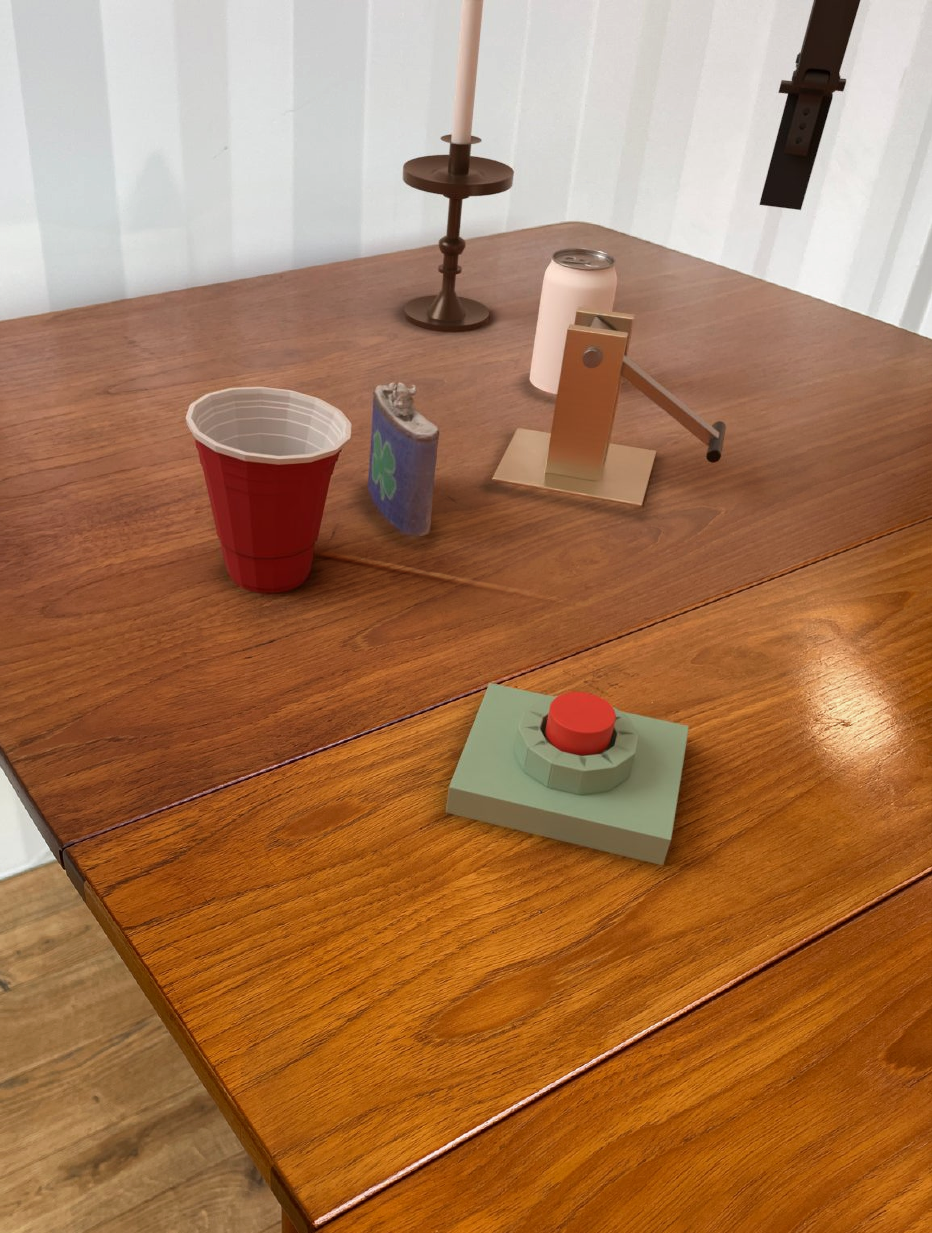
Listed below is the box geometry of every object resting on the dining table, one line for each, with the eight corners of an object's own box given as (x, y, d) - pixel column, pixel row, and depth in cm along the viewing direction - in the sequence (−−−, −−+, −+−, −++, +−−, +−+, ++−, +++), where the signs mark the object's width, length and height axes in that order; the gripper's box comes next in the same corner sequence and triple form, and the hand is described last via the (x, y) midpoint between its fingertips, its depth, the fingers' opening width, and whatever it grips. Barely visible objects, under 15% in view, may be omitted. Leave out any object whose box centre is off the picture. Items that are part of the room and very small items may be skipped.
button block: (680, 753, 67) (696, 701, 64) (662, 869, 60) (679, 815, 57) (485, 710, 69) (492, 658, 67) (445, 815, 62) (451, 762, 60)
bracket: (653, 463, 95) (688, 310, 87) (638, 518, 88) (675, 357, 80) (515, 440, 98) (536, 289, 89) (490, 491, 91) (510, 332, 82)
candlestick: (444, 293, 125) (477, -105, 101) (517, 321, 119) (570, -94, 95) (373, 315, 119) (391, -102, 96) (447, 346, 113) (485, -90, 90)
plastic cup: (359, 611, 77) (366, 448, 69) (201, 621, 76) (190, 456, 68) (335, 532, 85) (338, 377, 77) (192, 540, 84) (180, 383, 76)
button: (614, 723, 63) (620, 699, 62) (605, 763, 61) (611, 738, 59) (551, 710, 64) (556, 685, 63) (539, 748, 61) (544, 723, 60)
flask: (435, 544, 84) (447, 407, 77) (399, 550, 83) (408, 412, 76) (390, 488, 90) (398, 357, 83) (356, 493, 90) (361, 361, 83)
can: (590, 410, 103) (615, 274, 95) (521, 398, 104) (540, 263, 96) (601, 383, 107) (626, 251, 99) (535, 373, 109) (554, 242, 101)
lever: (713, 442, 90) (735, 420, 89) (707, 471, 86) (730, 449, 85) (579, 333, 88) (599, 308, 86) (567, 358, 84) (588, 333, 83)
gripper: (838, -275, 65) (731, 173, 81) (835, -285, 56) (715, 223, 71) (976, -270, 63) (839, 186, 79) (997, -280, 54) (837, 239, 70)
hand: (780, 203), depth 75 cm, fingers closed
